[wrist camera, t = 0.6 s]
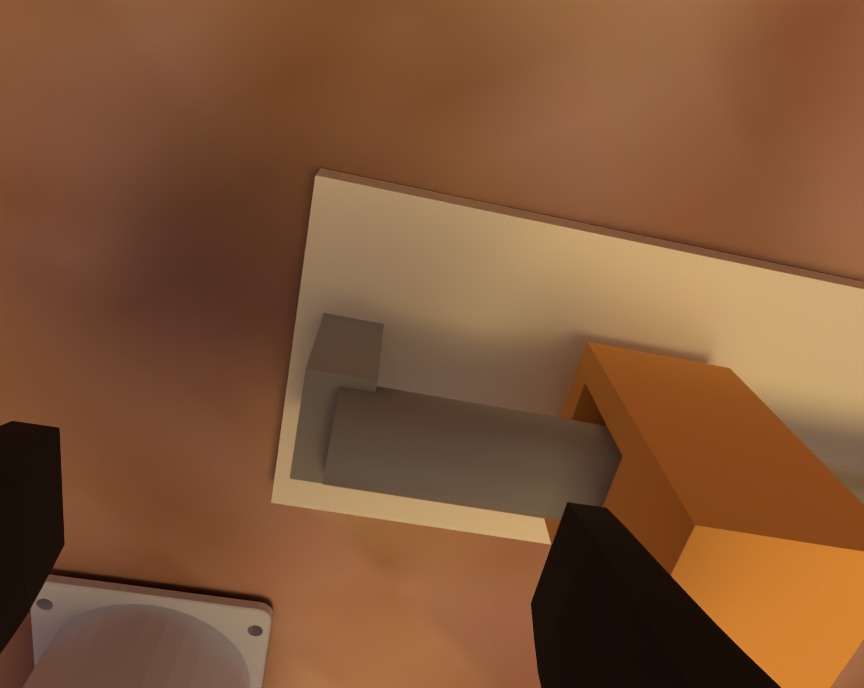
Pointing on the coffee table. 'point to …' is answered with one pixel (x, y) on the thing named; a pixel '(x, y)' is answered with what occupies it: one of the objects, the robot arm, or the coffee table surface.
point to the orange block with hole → (731, 508)
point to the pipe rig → (525, 354)
